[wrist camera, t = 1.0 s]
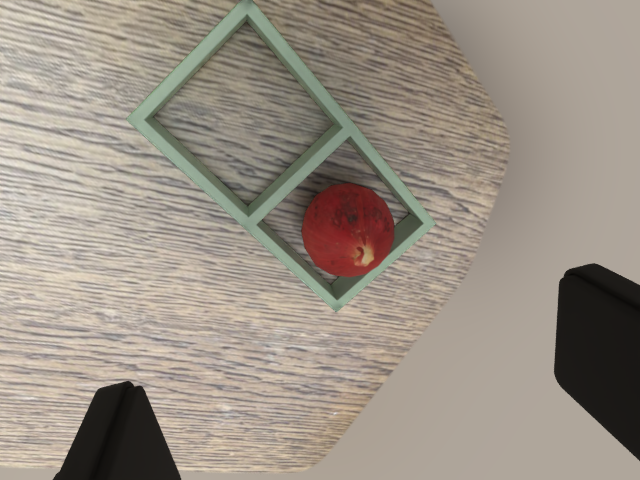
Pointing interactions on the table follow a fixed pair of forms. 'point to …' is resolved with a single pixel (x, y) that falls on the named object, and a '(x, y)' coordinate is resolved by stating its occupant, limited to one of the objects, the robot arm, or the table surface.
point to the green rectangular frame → (296, 173)
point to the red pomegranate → (348, 230)
